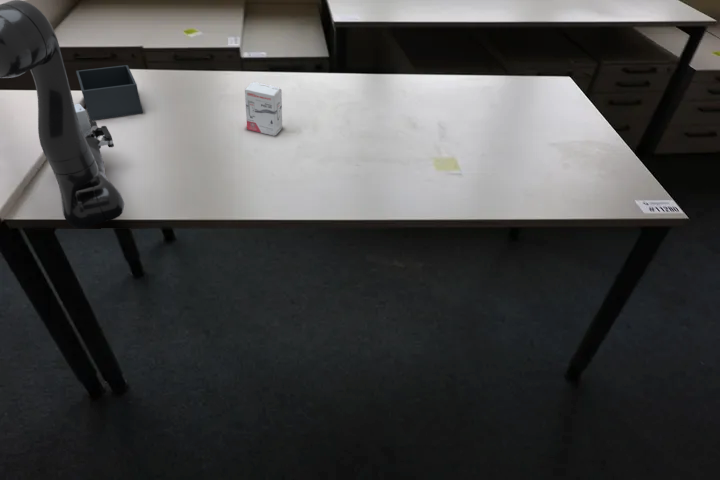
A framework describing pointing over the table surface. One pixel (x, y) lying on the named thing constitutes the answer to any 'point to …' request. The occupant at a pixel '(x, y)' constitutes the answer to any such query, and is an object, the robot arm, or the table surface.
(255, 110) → the ink box
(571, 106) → the table surface
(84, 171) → the robot arm
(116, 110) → the bin
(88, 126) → the cosmetic box
